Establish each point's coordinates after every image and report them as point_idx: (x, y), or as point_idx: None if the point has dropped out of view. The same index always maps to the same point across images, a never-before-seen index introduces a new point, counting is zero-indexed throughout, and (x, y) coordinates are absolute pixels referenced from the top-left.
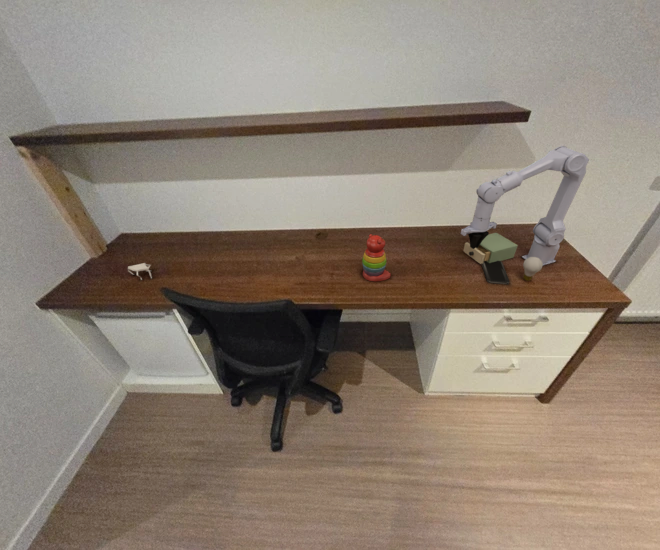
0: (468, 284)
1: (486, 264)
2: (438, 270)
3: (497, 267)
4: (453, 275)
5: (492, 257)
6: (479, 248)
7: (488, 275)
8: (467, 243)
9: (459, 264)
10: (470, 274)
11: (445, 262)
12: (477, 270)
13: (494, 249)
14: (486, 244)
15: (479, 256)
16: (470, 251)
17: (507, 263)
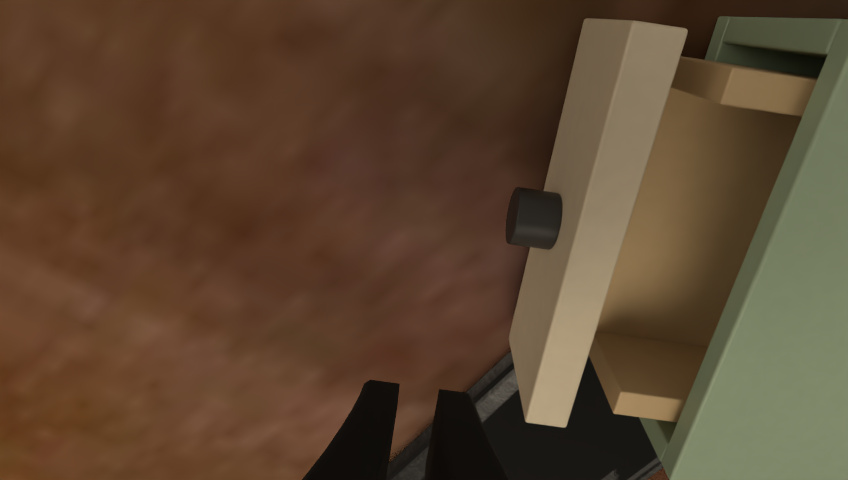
0: (186, 450)
1: None
2: (28, 159)
3: (605, 443)
4: (138, 304)
5: None
6: None
7: (421, 474)
8: (643, 66)
9: (332, 196)
10: (305, 372)
11: (203, 72)
12: (417, 363)
13: (751, 458)
14: (814, 317)
15: (528, 349)
16: (565, 177)
17: None
